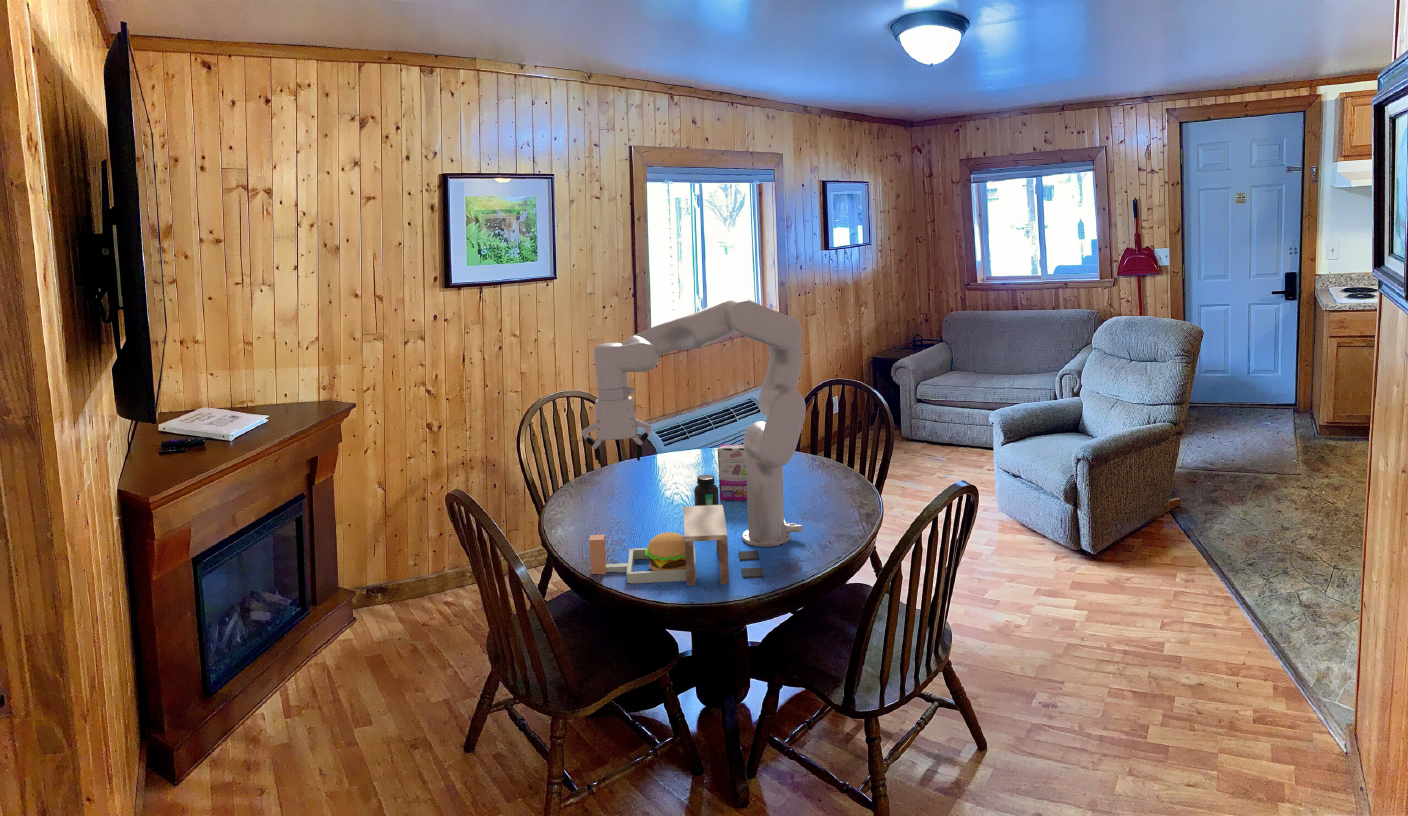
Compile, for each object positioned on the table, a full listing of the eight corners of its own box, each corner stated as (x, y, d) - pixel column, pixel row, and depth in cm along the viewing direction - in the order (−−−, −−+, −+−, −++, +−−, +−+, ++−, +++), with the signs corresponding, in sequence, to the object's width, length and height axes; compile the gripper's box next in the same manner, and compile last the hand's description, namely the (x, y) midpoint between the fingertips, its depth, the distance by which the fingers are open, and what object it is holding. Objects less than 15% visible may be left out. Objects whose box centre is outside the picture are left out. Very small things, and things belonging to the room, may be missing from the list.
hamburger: (638, 563, 235) (636, 531, 234) (682, 554, 240) (681, 523, 238) (655, 580, 225) (653, 546, 223) (701, 571, 229) (700, 538, 227)
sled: (694, 555, 239) (693, 521, 237) (696, 580, 224) (694, 544, 222) (594, 559, 239) (592, 526, 237) (589, 585, 223) (586, 549, 221)
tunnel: (724, 549, 242) (722, 504, 239) (729, 583, 221) (727, 534, 219) (685, 551, 242) (683, 506, 239) (686, 585, 221) (684, 536, 218)
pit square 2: (761, 568, 229) (761, 567, 229) (763, 577, 224) (763, 575, 224) (741, 569, 229) (741, 568, 229) (742, 578, 224) (742, 576, 224)
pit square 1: (758, 552, 240) (758, 550, 240) (759, 559, 235) (759, 558, 235) (738, 552, 240) (738, 551, 240) (739, 560, 235) (739, 559, 235)
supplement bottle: (715, 522, 263) (713, 481, 260) (691, 520, 265) (690, 479, 262) (722, 514, 269) (720, 474, 266) (699, 512, 271) (698, 472, 268)
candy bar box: (758, 496, 283) (756, 443, 279) (756, 501, 278) (755, 448, 275) (721, 495, 285) (719, 443, 281) (719, 501, 280) (717, 448, 276)
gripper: (648, 387, 233) (654, 453, 237) (578, 393, 232) (585, 459, 236) (648, 394, 226) (654, 462, 230) (576, 400, 225) (583, 468, 229)
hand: (619, 460), depth 233 cm, fingers open, 9 cm apart
